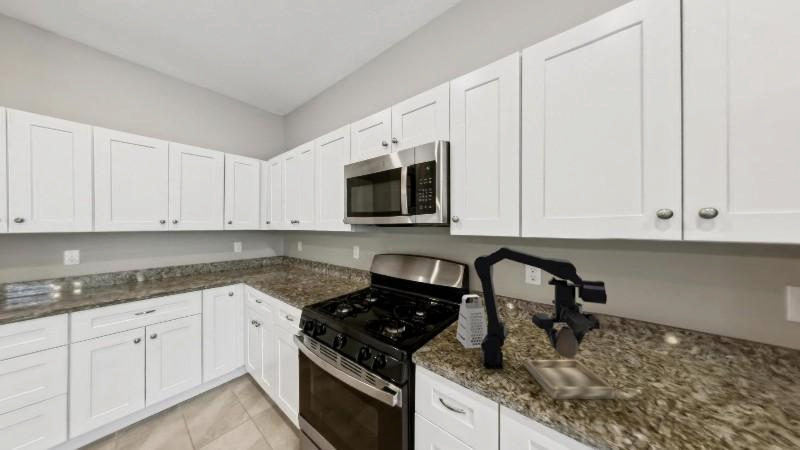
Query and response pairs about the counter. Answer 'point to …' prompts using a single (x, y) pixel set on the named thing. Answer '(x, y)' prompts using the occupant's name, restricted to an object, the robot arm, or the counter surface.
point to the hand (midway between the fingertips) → (565, 348)
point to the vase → (566, 343)
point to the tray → (569, 380)
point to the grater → (471, 322)
